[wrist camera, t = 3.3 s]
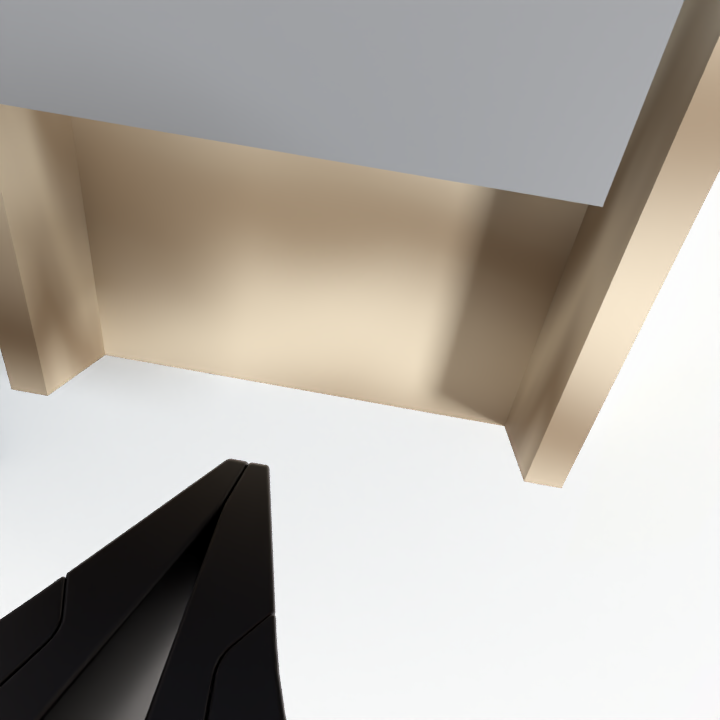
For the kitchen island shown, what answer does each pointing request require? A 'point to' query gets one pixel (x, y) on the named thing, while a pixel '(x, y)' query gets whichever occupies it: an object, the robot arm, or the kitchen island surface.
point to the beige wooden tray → (352, 264)
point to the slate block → (359, 79)
